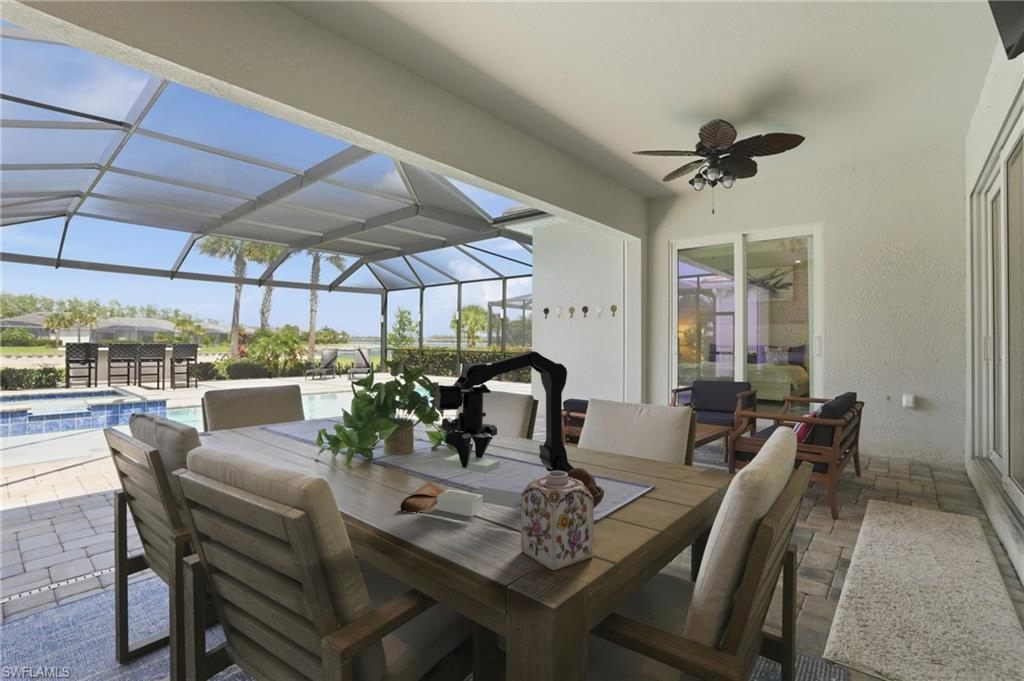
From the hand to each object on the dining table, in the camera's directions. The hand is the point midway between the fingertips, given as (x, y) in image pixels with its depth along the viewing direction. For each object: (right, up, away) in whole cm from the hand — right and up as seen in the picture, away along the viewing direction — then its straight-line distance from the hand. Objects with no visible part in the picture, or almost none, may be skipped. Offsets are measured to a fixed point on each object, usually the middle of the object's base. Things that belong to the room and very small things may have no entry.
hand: (471, 464), depth 136 cm
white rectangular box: (-3, -12, -3) cm, 13 cm away
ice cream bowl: (+29, -12, -14) cm, 34 cm away
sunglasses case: (-13, -13, +4) cm, 19 cm away
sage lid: (0, -1, 0) cm, 1 cm away
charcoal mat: (+7, -12, +7) cm, 15 cm away
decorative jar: (+21, -13, -29) cm, 38 cm away
